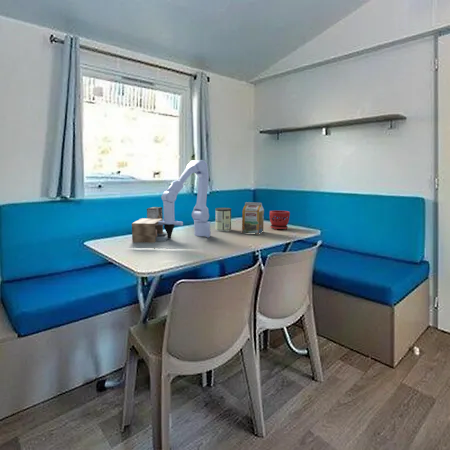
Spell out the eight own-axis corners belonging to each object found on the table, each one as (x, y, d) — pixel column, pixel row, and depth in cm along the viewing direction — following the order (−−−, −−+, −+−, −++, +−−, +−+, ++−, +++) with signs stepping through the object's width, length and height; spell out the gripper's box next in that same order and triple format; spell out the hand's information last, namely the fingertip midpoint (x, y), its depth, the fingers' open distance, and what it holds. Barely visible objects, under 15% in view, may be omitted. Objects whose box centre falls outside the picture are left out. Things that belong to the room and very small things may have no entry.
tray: (169, 239, 191) (169, 234, 191) (166, 242, 183) (165, 237, 182) (148, 238, 192) (148, 233, 192) (143, 242, 183) (143, 236, 183)
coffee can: (220, 228, 229) (221, 207, 227) (234, 229, 223) (234, 208, 221) (212, 230, 220) (212, 208, 218) (225, 232, 215) (225, 209, 213)
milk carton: (242, 233, 210) (242, 202, 207) (247, 230, 220) (248, 201, 217) (258, 234, 206) (259, 203, 203) (263, 232, 216) (264, 202, 213)
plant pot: (290, 230, 221) (291, 212, 219) (270, 230, 221) (271, 212, 220) (287, 227, 234) (288, 209, 232) (268, 227, 234) (268, 209, 232)
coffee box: (153, 232, 211) (152, 206, 209) (163, 232, 210) (162, 207, 207) (147, 235, 202) (146, 208, 200) (157, 235, 201) (156, 208, 199)
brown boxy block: (163, 237, 196) (162, 218, 194) (155, 244, 178) (154, 223, 177) (142, 237, 197) (141, 218, 195) (132, 243, 179) (131, 223, 177)
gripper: (153, 214, 181) (154, 239, 183) (181, 214, 180) (181, 239, 182) (157, 212, 188) (157, 236, 190) (183, 212, 187) (183, 237, 189)
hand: (169, 238), depth 187 cm, fingers closed
